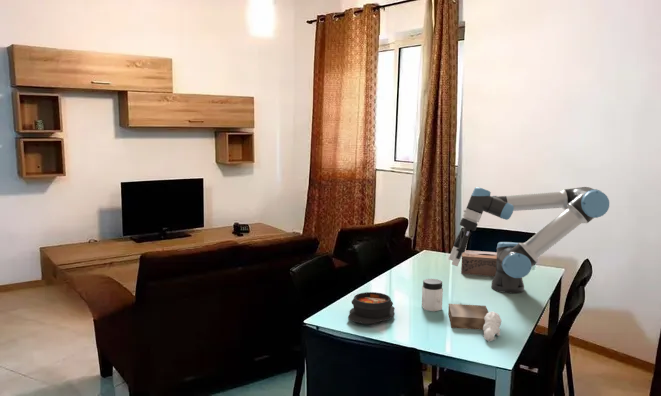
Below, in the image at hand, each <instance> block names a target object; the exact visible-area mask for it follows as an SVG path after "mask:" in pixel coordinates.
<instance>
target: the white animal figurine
mask: <svg viewBox="0 0 661 396" xmlns="http://www.w3.org/2000/svg"><path fill="white" fill-rule="evenodd" d="M484 320H485V324H484V326H483V335H482V337H483V339H484V340H487V342H492V341H493V342H494V341H495V340H496V338H497V337H496V336H500V335H501V329H500V326H501V324H502V319H501V316H500V314H499V313H497V312H495V311H488V313H487V314H486V316H485V317H484ZM495 335H496V336H495Z"/></svg>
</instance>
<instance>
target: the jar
mask: <svg viewBox="0 0 661 396" xmlns="http://www.w3.org/2000/svg"><path fill="white" fill-rule="evenodd" d="M443 289H444V288H443V281H442V280H440V279H439V278H437V279H436V278H426V279H423V281H422V286H421V307H422V308H423V310H424V311H429V312H438V311H441V310H443V296H444V295H443V294H444V293H443V292H444V291H443Z"/></svg>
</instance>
